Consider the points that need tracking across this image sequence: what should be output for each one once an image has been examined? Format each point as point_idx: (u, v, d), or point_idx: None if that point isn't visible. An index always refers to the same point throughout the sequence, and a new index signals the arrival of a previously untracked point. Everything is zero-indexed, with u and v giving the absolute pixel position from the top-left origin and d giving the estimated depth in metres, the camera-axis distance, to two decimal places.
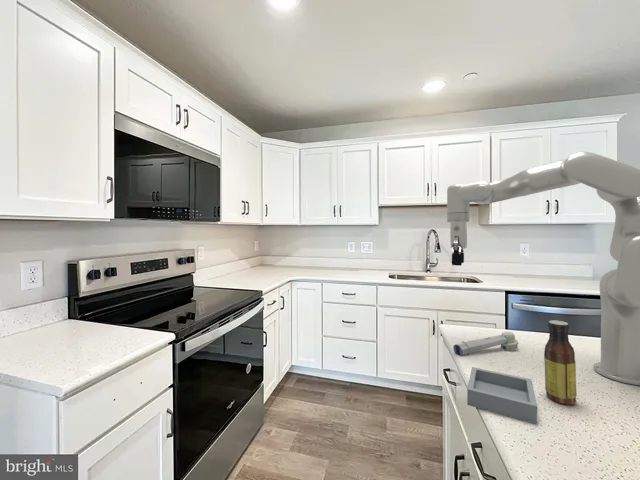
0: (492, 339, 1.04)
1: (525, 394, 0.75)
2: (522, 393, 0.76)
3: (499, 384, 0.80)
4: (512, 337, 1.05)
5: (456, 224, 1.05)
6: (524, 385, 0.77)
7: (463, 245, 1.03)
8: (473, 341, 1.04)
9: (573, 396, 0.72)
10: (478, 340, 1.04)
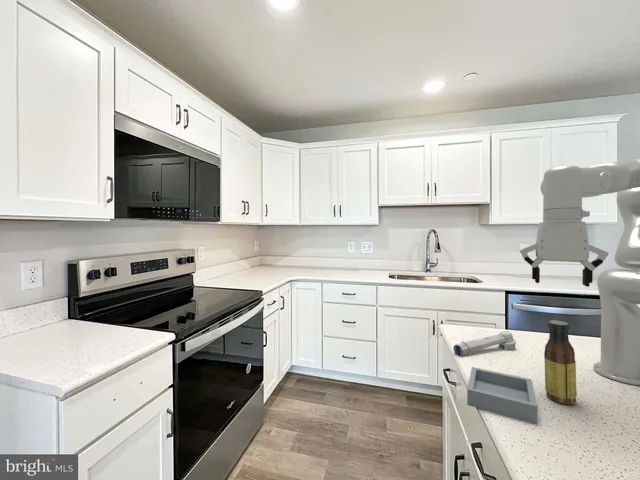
0: (491, 339, 1.05)
1: (525, 394, 0.75)
2: (522, 393, 0.76)
3: (499, 384, 0.80)
4: (510, 336, 1.06)
5: (585, 225, 0.71)
6: (524, 385, 0.77)
7: None
8: (473, 341, 1.03)
9: (573, 396, 0.72)
10: (478, 340, 1.04)
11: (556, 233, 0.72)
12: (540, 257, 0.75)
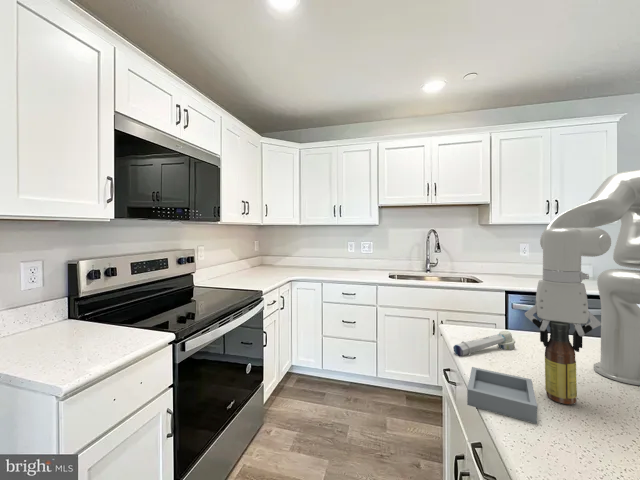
0: (491, 339, 1.05)
1: (525, 394, 0.75)
2: (522, 393, 0.76)
3: (499, 384, 0.80)
4: (509, 336, 1.06)
5: None
6: (524, 385, 0.77)
7: None
8: (473, 341, 1.03)
9: (573, 396, 0.72)
10: (477, 340, 1.04)
11: (556, 295, 0.73)
12: (540, 317, 0.75)
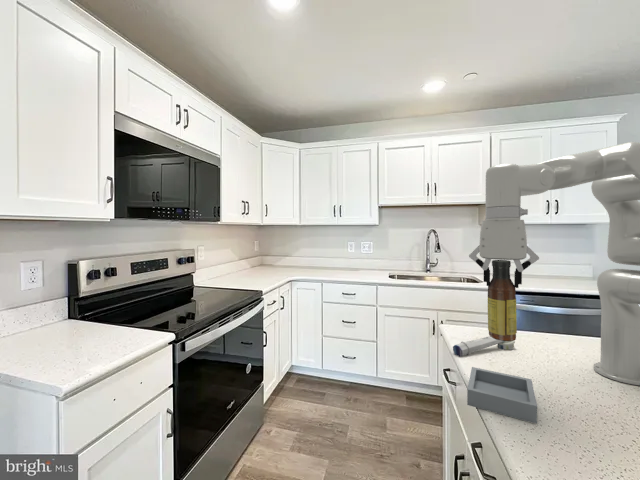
0: (490, 339, 1.05)
1: (525, 394, 0.75)
2: (522, 393, 0.76)
3: (499, 384, 0.80)
4: None
5: (524, 224, 0.71)
6: (524, 385, 0.77)
7: None
8: (472, 341, 1.03)
9: (512, 332, 0.71)
10: (477, 340, 1.04)
11: (496, 231, 0.72)
12: (482, 255, 0.75)
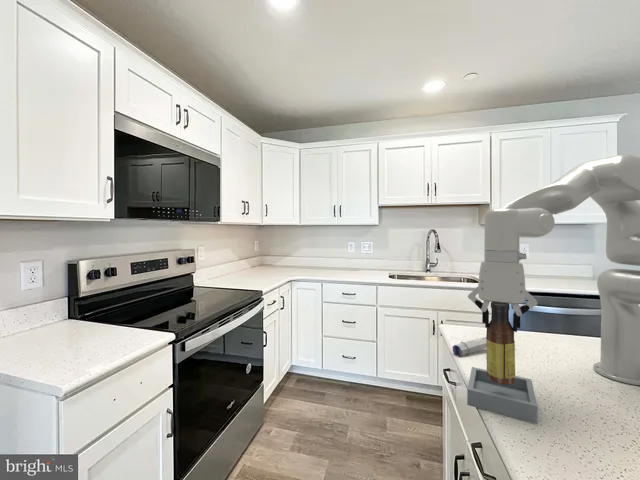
0: None
1: (525, 394, 0.75)
2: (522, 393, 0.76)
3: (499, 384, 0.80)
4: None
5: (523, 268, 0.71)
6: (524, 385, 0.77)
7: None
8: (472, 341, 1.03)
9: (511, 376, 0.72)
10: (476, 340, 1.04)
11: (494, 275, 0.73)
12: (481, 297, 0.75)
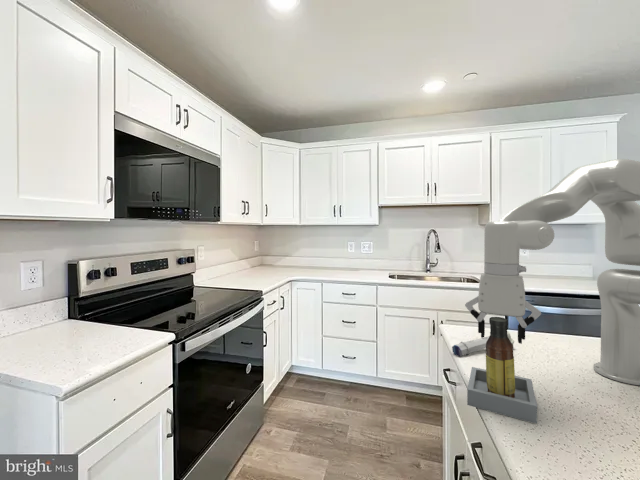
0: None
1: (525, 394, 0.75)
2: (522, 393, 0.76)
3: None
4: (508, 336, 1.06)
5: None
6: (524, 385, 0.77)
7: None
8: (471, 341, 1.03)
9: (511, 392, 0.72)
10: (476, 340, 1.04)
11: (494, 288, 0.73)
12: (481, 310, 0.75)
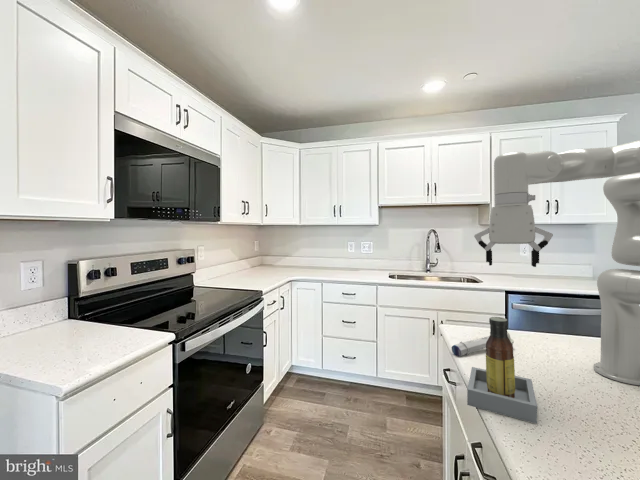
0: None
1: (525, 394, 0.75)
2: (522, 393, 0.76)
3: None
4: (508, 336, 1.06)
5: (532, 209, 0.75)
6: (524, 385, 0.77)
7: None
8: (471, 341, 1.03)
9: (511, 392, 0.72)
10: (475, 340, 1.04)
11: (505, 217, 0.76)
12: (492, 240, 0.78)
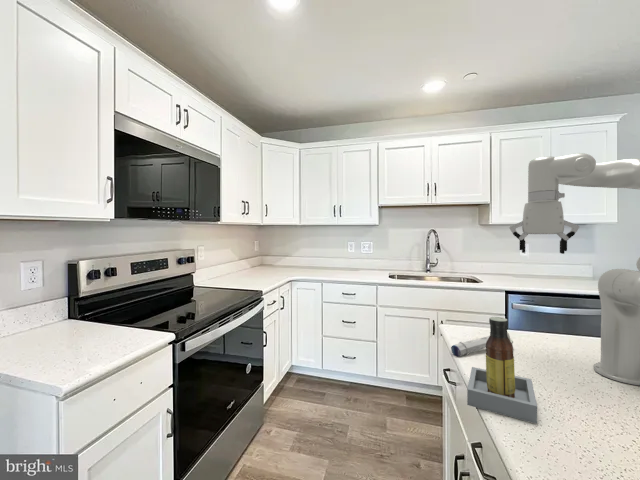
0: None
1: (525, 394, 0.75)
2: (522, 393, 0.76)
3: None
4: None
5: (561, 205, 0.88)
6: (524, 385, 0.77)
7: None
8: (470, 341, 1.03)
9: (511, 392, 0.72)
10: (475, 340, 1.04)
11: (538, 211, 0.89)
12: (525, 231, 0.92)
